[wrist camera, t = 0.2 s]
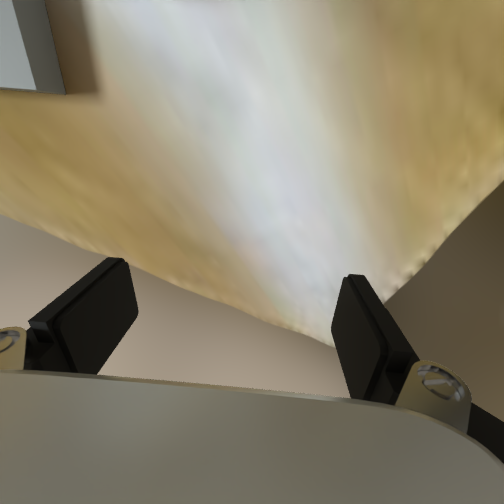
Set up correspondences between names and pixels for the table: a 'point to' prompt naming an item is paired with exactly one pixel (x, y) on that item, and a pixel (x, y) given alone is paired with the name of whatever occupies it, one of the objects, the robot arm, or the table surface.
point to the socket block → (28, 48)
